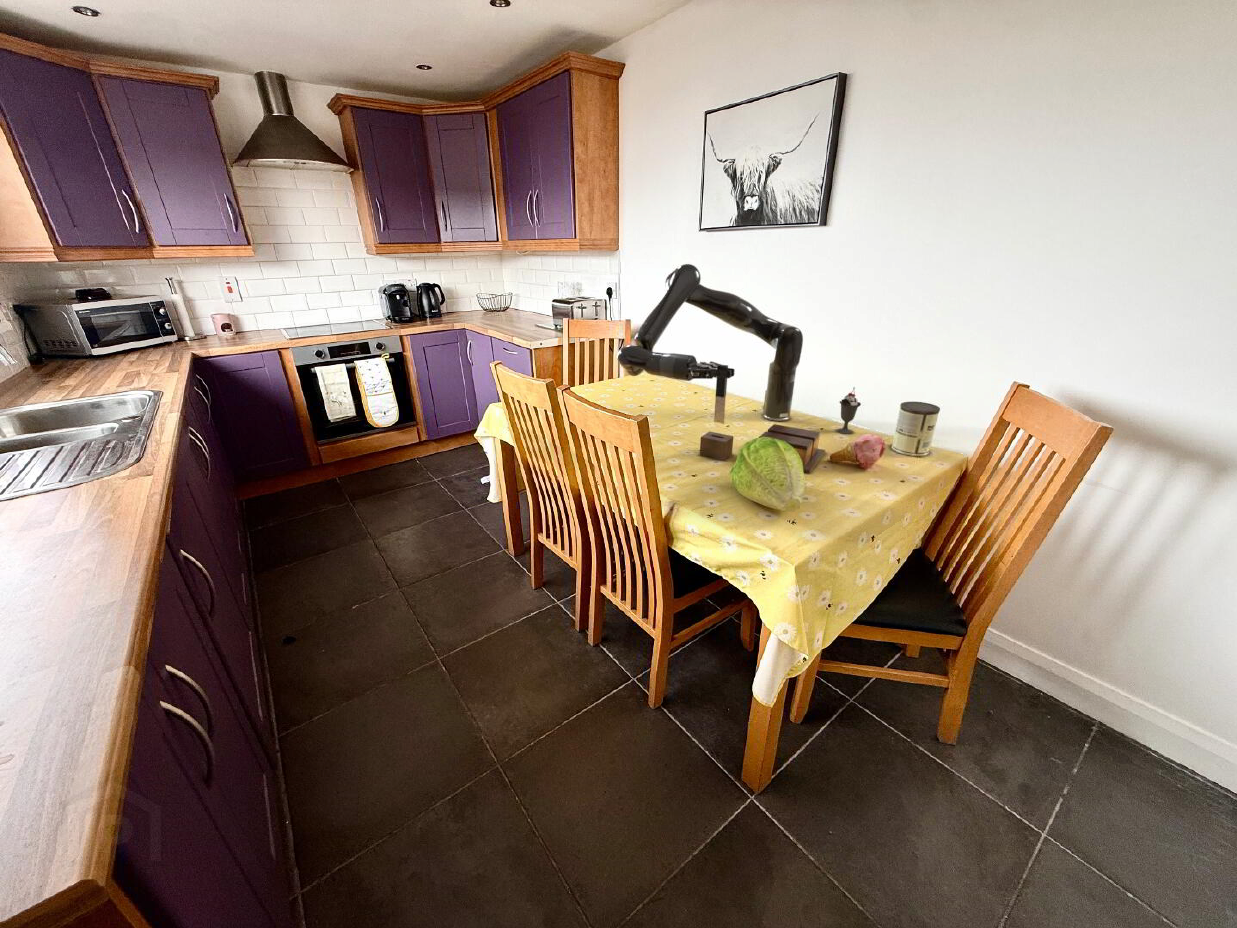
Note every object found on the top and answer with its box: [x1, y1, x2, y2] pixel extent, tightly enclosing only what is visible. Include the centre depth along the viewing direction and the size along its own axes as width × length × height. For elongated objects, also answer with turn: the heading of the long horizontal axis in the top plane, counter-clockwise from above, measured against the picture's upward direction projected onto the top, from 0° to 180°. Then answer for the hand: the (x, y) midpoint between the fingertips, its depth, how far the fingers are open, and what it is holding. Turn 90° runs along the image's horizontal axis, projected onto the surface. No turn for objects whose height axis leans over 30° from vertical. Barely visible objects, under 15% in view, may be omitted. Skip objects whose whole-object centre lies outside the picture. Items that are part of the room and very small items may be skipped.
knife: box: [713, 364, 729, 424], centre depth 145 cm, size 3×2×17 cm, turn 56°
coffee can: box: [891, 401, 941, 457], centre depth 151 cm, size 10×10×14 cm
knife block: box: [699, 431, 734, 462], centre depth 151 cm, size 8×6×6 cm
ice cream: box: [829, 433, 886, 469], centre depth 143 cm, size 11×10×15 cm
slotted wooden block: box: [758, 423, 826, 474], centre depth 149 cm, size 18×18×7 cm
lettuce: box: [729, 437, 807, 513], centre depth 122 cm, size 17×24×14 cm
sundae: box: [836, 386, 862, 435], centre depth 167 cm, size 7×7×15 cm
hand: (732, 373), depth 140 cm, fingers closed on knife, 1 cm apart
